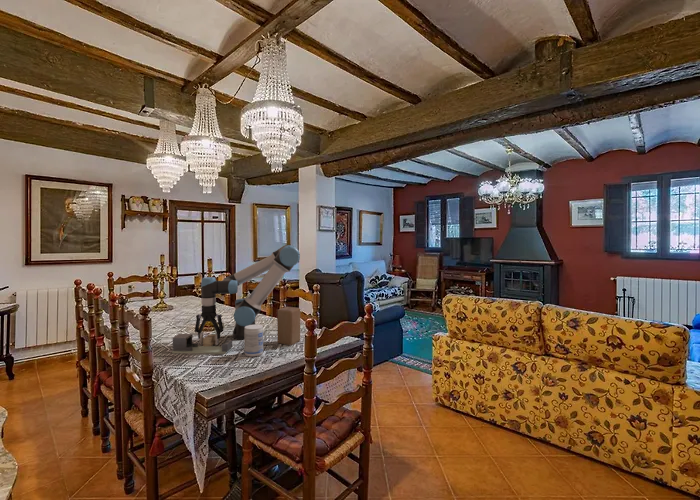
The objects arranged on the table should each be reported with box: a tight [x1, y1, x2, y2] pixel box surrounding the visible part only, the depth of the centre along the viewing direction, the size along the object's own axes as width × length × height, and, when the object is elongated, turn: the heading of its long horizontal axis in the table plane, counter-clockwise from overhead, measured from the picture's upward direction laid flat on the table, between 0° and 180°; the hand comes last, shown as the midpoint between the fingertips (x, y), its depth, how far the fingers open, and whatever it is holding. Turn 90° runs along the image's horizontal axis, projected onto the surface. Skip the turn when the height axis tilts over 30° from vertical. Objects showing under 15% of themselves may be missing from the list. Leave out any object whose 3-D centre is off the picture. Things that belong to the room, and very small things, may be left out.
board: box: [171, 345, 228, 355], centre depth 194 cm, size 28×9×1 cm, turn 90°
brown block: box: [202, 333, 216, 346], centre depth 203 cm, size 8×4×5 cm, turn 0°
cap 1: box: [172, 333, 199, 351], centre depth 193 cm, size 10×8×7 cm
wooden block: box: [276, 306, 301, 346], centre depth 209 cm, size 10×10×20 cm
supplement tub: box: [243, 324, 264, 358], centre depth 189 cm, size 10×10×15 cm
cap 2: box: [221, 339, 233, 353], centre depth 193 cm, size 3×8×4 cm, turn 0°
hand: (209, 344), depth 204 cm, fingers open, 8 cm apart
